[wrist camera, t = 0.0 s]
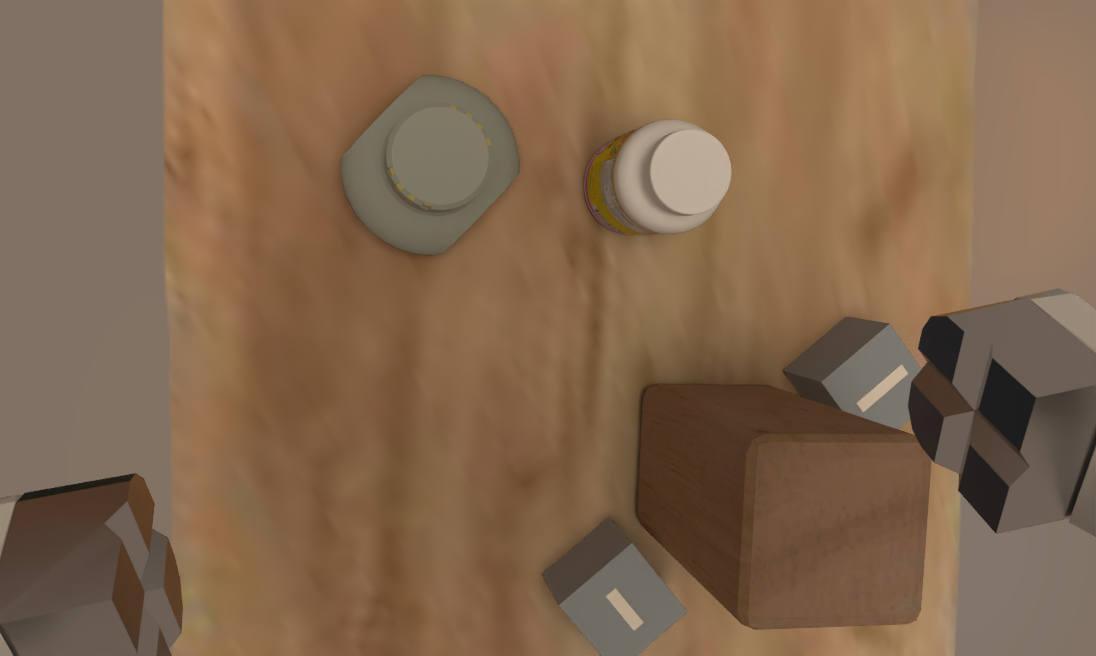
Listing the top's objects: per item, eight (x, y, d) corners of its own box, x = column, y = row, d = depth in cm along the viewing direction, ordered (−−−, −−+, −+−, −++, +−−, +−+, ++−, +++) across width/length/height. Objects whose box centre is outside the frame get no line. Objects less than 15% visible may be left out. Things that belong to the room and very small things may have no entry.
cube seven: (661, 582, 69) (690, 615, 63) (595, 638, 68) (618, 677, 62) (608, 517, 67) (633, 543, 61) (541, 573, 67) (559, 606, 61)
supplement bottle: (674, 134, 66) (748, 107, 53) (679, 232, 67) (753, 229, 54) (577, 138, 65) (629, 112, 52) (583, 238, 65) (636, 236, 53)
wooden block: (639, 381, 67) (755, 437, 47) (776, 383, 69) (941, 438, 49) (632, 525, 68) (744, 638, 48) (768, 523, 70) (927, 631, 50)
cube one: (892, 383, 71) (942, 396, 65) (830, 436, 70) (875, 454, 64) (845, 317, 70) (891, 323, 64) (782, 370, 69) (822, 382, 63)
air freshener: (439, 63, 63) (454, 29, 53) (531, 155, 64) (562, 138, 55) (321, 185, 62) (313, 173, 52) (416, 275, 64) (426, 280, 54)
